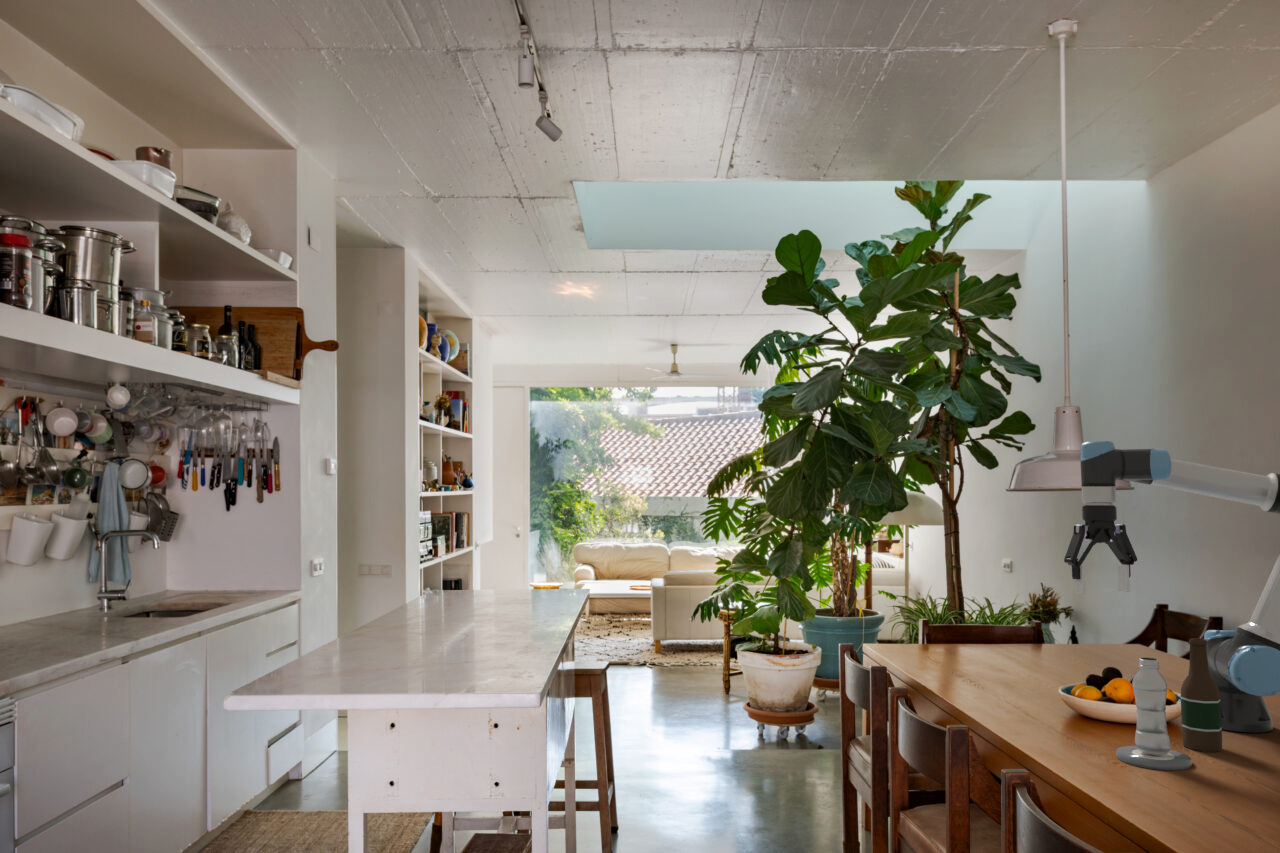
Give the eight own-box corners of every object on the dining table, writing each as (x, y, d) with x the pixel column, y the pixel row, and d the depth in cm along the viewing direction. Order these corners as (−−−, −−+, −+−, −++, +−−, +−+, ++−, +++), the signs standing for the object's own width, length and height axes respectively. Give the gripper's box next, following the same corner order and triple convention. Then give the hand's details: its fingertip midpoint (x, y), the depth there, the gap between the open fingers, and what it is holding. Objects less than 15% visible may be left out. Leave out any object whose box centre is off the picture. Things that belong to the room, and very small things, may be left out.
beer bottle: (1218, 745, 208) (1213, 637, 210) (1227, 754, 201) (1222, 642, 203) (1178, 742, 211) (1174, 635, 213) (1186, 750, 204) (1182, 640, 205)
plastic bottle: (1176, 759, 192) (1171, 661, 194) (1140, 757, 194) (1136, 660, 195) (1165, 751, 199) (1161, 656, 200) (1130, 749, 200) (1127, 655, 201)
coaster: (1184, 755, 200) (1184, 749, 200) (1198, 773, 187) (1197, 766, 187) (1112, 748, 205) (1112, 743, 205) (1121, 766, 192) (1120, 759, 192)
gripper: (1126, 504, 233) (1129, 589, 231) (1046, 504, 225) (1049, 592, 224) (1151, 504, 226) (1154, 592, 224) (1069, 504, 218) (1072, 595, 216)
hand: (1102, 592), depth 224 cm, fingers open, 13 cm apart
